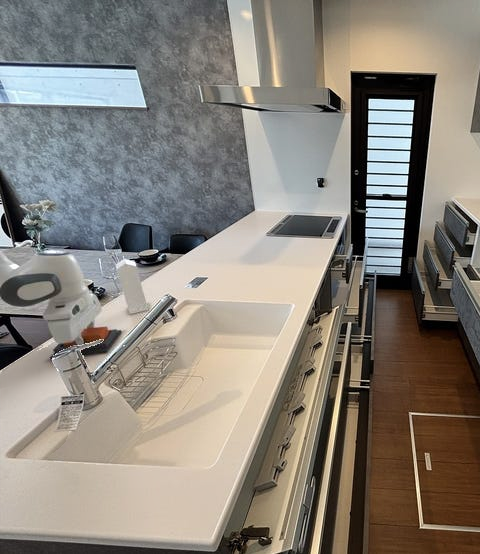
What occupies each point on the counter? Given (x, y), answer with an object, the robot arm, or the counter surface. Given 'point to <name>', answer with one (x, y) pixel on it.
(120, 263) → the milk
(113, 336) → the base pad
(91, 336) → the top pad
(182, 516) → the counter surface
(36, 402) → the counter surface
